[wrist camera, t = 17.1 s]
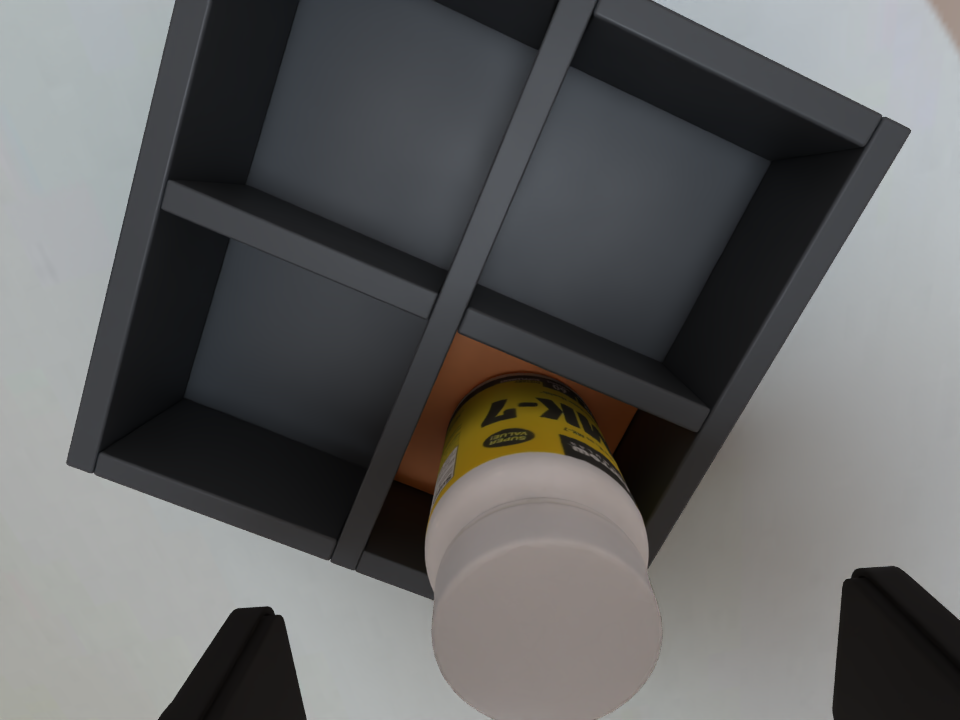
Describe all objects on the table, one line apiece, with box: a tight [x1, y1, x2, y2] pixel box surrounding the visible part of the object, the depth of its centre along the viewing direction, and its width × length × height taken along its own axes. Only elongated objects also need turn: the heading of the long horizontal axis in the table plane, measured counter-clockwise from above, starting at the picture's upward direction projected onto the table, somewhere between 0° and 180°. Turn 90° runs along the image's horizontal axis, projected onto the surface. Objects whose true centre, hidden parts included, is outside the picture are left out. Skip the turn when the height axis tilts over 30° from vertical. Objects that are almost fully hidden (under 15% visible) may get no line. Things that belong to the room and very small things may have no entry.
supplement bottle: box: [425, 373, 662, 720], centre depth 13 cm, size 5×5×8 cm
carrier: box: [66, 0, 911, 600], centre depth 15 cm, size 15×15×4 cm
